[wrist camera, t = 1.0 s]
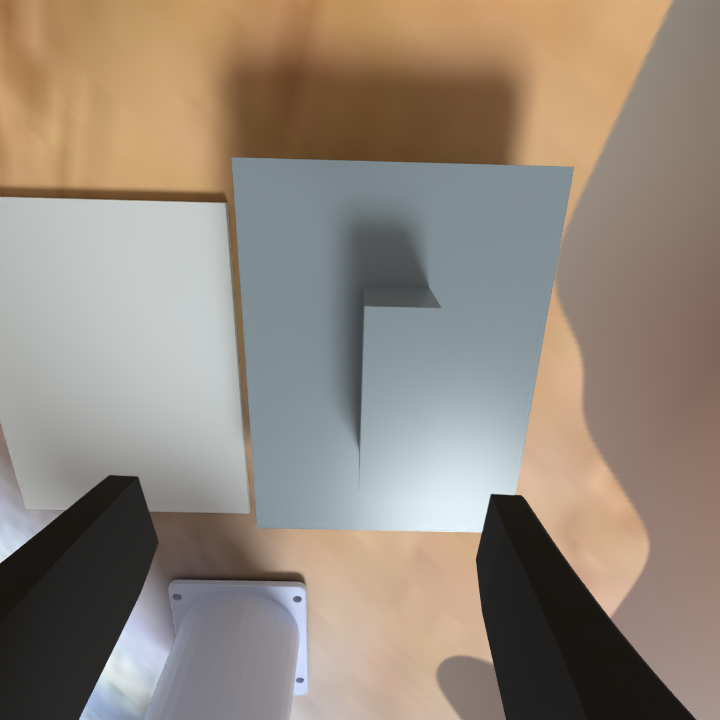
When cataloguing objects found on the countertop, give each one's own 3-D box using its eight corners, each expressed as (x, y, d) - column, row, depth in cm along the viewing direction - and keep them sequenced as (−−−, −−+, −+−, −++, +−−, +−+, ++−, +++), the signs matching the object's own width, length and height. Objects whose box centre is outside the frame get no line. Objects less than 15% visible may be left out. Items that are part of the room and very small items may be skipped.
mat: (250, 508, 26) (248, 513, 26) (30, 504, 26) (25, 509, 25) (227, 202, 20) (225, 203, 20) (-58, 195, 20) (-66, 195, 20)
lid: (499, 512, 23) (529, 582, 19) (262, 507, 23) (243, 577, 19) (557, 166, 17) (616, 166, 13) (241, 158, 17) (205, 154, 13)
